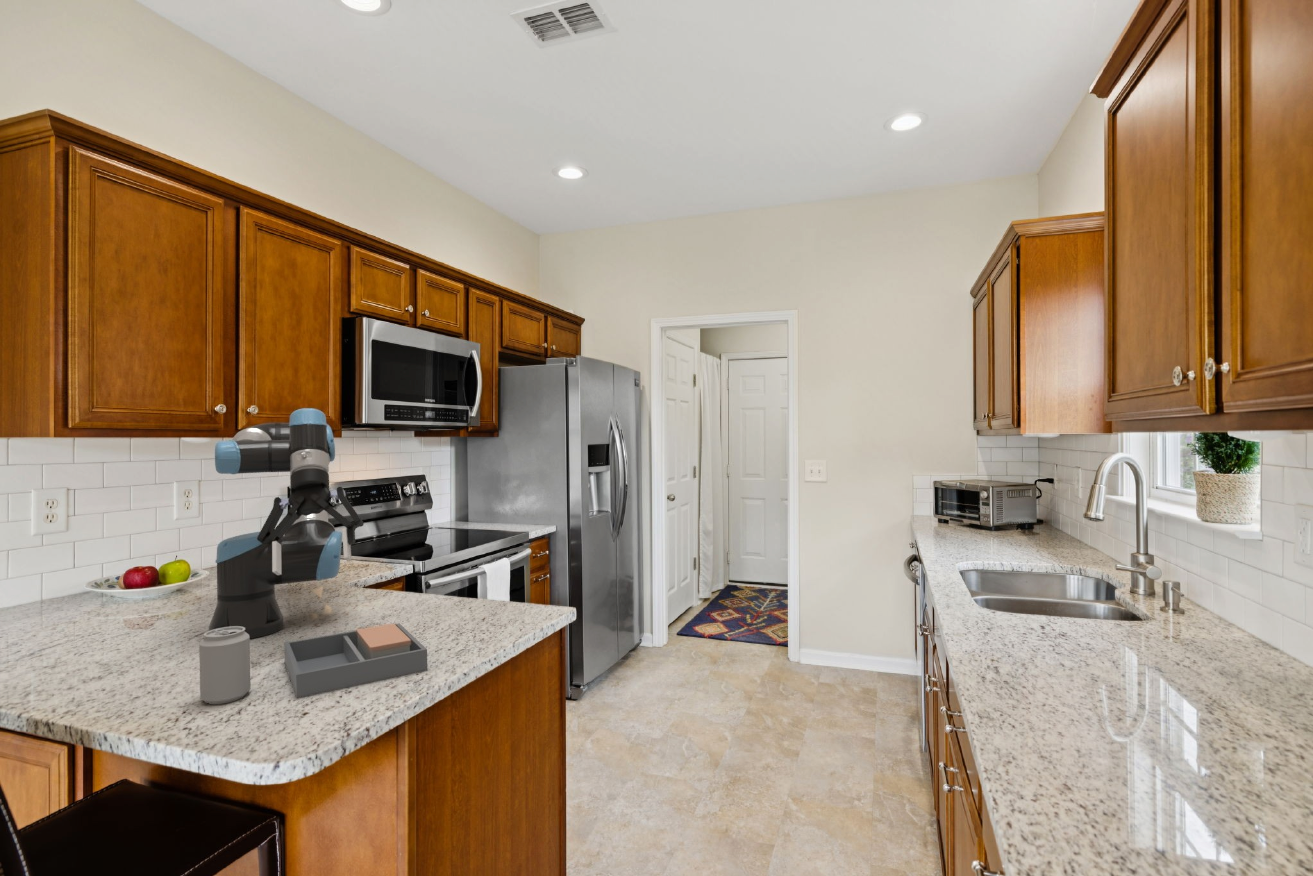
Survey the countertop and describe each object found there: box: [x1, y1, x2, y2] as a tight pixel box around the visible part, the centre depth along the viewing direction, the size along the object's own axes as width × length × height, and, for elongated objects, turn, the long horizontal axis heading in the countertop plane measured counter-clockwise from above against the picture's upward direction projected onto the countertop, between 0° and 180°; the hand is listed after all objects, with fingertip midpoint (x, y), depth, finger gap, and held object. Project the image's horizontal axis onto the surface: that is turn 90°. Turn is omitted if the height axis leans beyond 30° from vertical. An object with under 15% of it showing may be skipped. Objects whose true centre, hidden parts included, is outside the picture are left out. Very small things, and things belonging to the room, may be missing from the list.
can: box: [198, 626, 251, 705], centre depth 115 cm, size 8×8×12 cm
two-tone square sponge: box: [355, 623, 411, 660], centre depth 130 cm, size 14×7×5 cm, turn 35°
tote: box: [283, 623, 428, 699], centre depth 127 cm, size 22×22×5 cm
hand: (312, 566), depth 135 cm, fingers open, 13 cm apart
